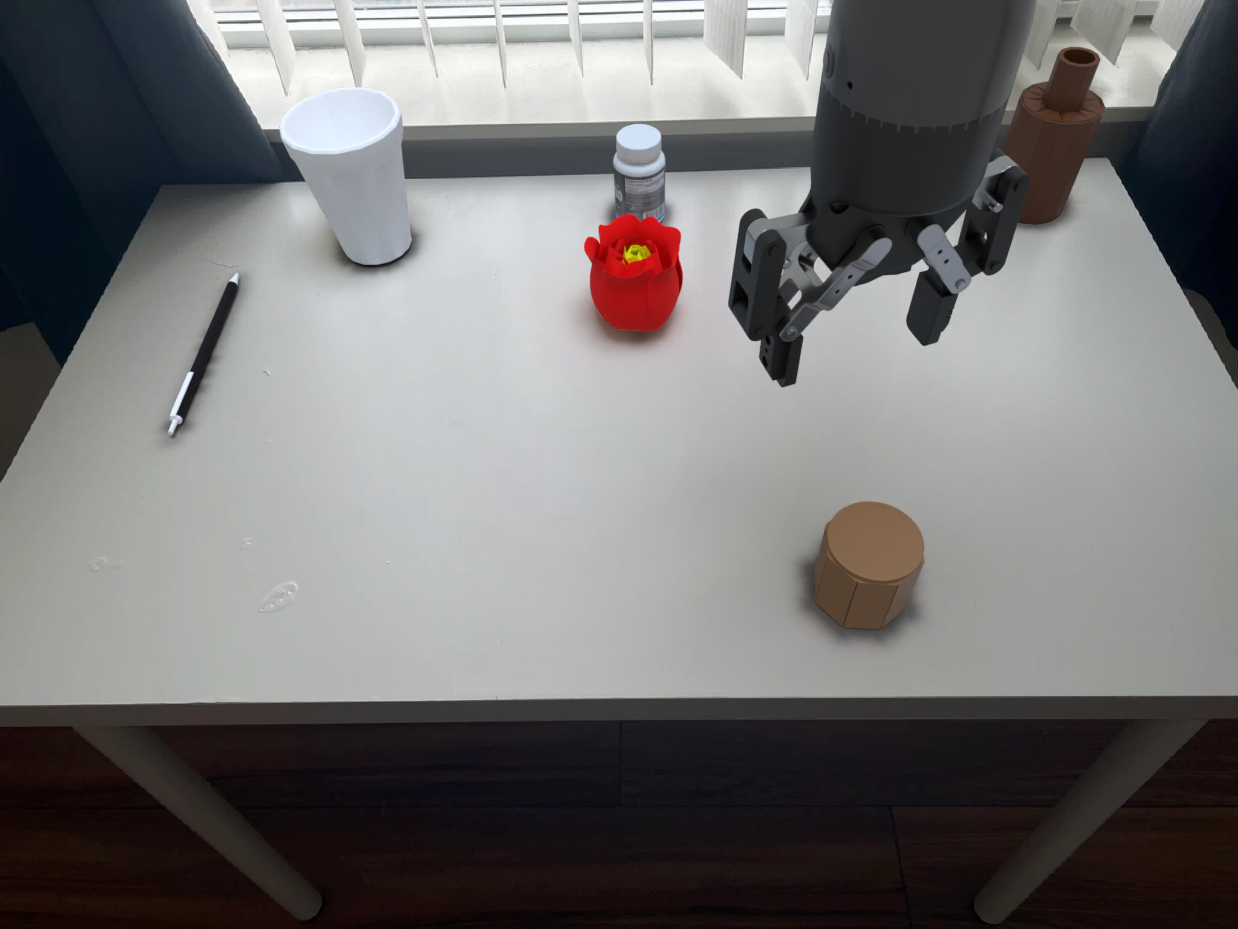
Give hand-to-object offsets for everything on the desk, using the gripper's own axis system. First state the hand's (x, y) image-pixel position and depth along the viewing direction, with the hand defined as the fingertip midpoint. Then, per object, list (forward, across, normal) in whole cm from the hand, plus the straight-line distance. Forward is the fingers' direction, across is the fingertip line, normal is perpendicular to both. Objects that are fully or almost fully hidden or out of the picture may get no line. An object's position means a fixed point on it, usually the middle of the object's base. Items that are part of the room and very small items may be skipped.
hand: (851, 354), depth 49 cm
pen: (+17, -39, +34) cm, 55 cm away
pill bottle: (+17, +1, +38) cm, 42 cm away
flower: (+17, -4, +25) cm, 31 cm away
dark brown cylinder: (+17, +36, +26) cm, 47 cm away
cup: (+17, -23, +43) cm, 52 cm away
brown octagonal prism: (+17, +1, -5) cm, 18 cm away
